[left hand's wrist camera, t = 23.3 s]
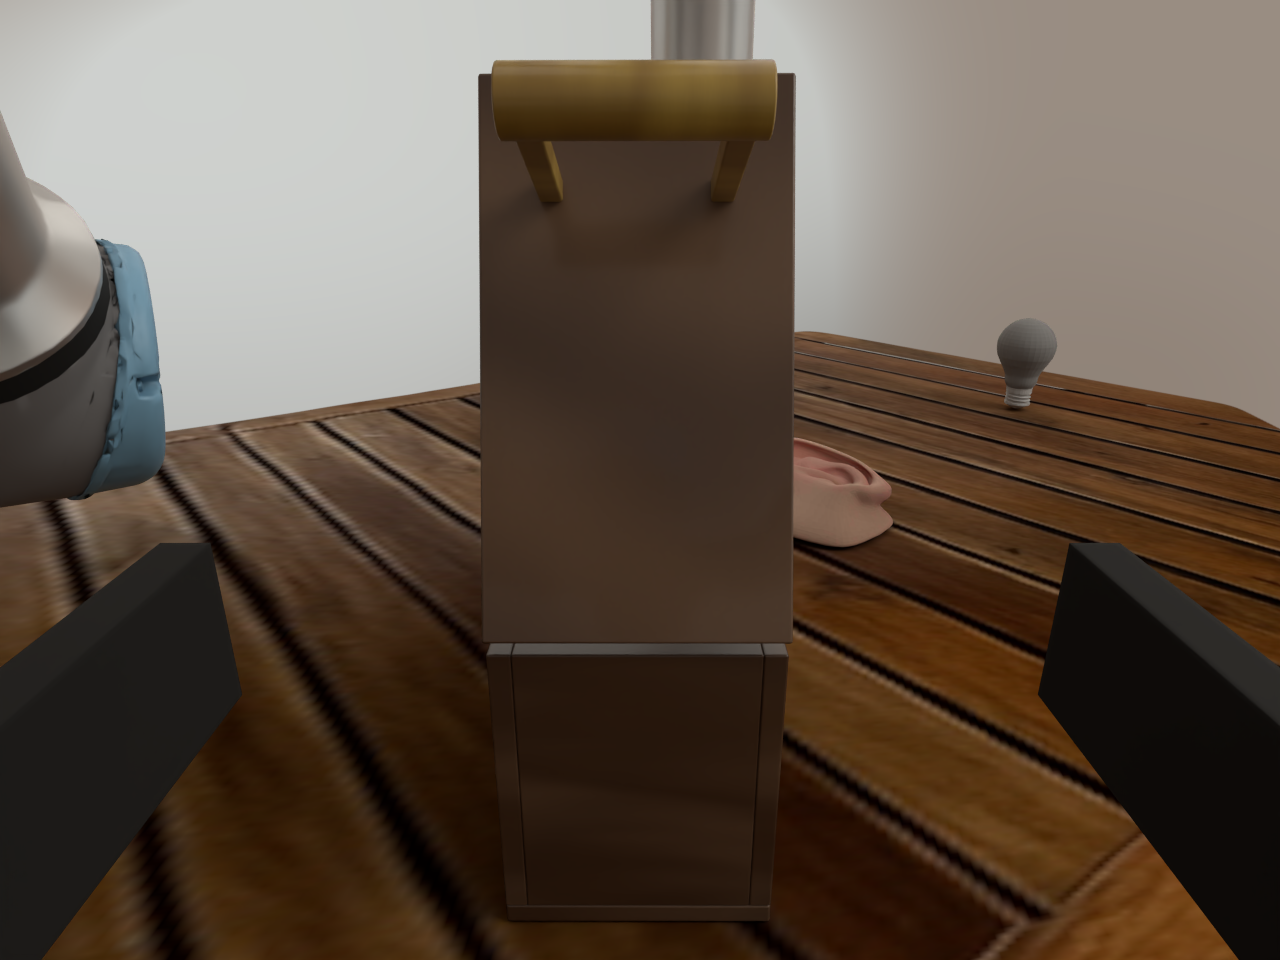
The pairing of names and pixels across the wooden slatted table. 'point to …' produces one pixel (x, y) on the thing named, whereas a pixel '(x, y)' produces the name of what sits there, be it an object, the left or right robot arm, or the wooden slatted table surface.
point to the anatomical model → (836, 497)
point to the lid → (637, 351)
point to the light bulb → (1024, 357)
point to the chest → (637, 779)
